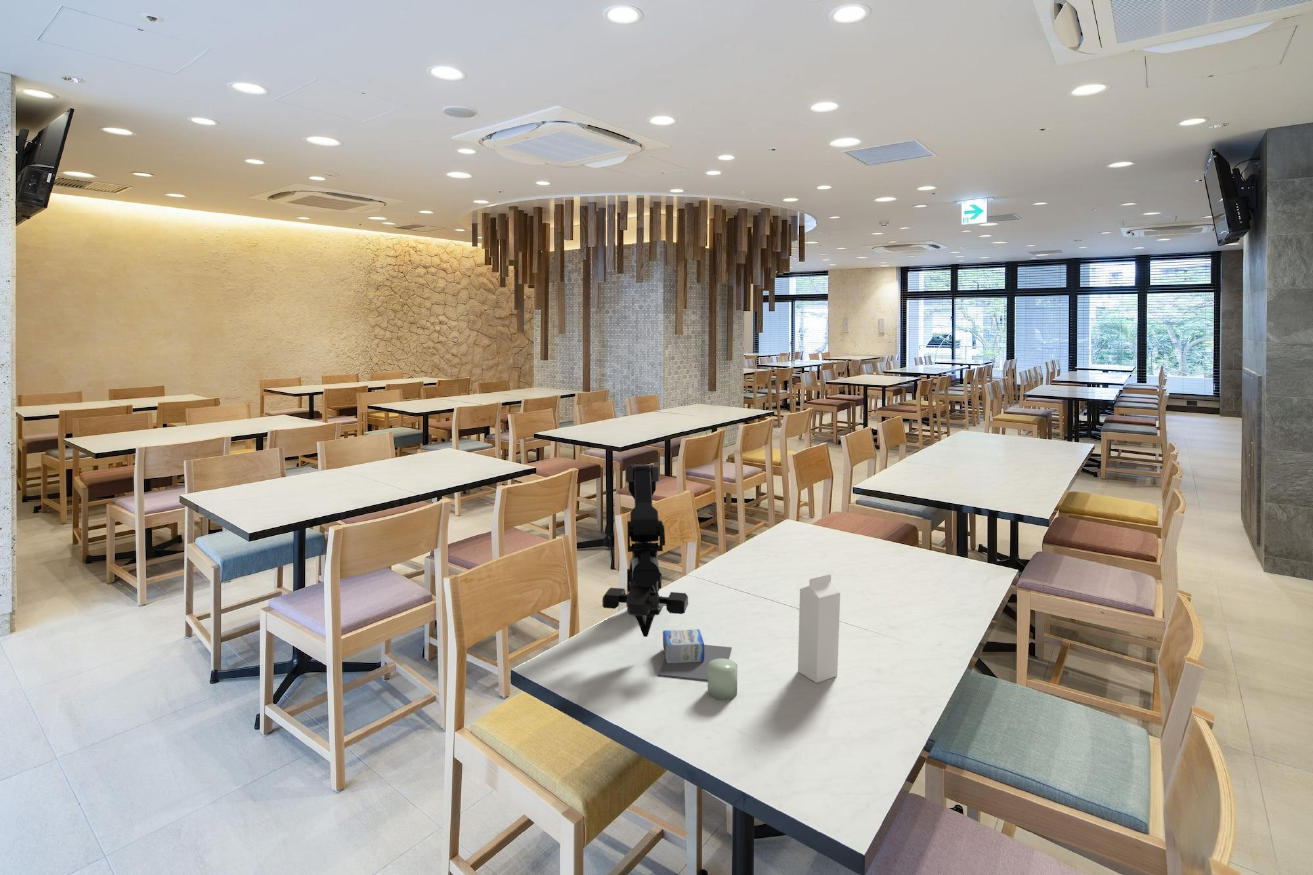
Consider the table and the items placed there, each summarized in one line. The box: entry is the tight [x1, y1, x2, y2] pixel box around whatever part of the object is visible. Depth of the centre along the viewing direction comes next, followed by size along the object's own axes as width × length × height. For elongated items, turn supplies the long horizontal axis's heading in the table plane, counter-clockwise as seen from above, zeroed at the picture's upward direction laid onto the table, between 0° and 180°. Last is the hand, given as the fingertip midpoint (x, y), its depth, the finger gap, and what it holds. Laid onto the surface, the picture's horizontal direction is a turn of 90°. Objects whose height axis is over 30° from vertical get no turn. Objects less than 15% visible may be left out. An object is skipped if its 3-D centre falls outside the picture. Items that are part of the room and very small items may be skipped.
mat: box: [657, 644, 732, 682], centre depth 155 cm, size 14×16×1 cm
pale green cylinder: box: [707, 658, 738, 701], centre depth 141 cm, size 6×6×6 cm
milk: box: [797, 573, 841, 684], centre depth 147 cm, size 6×6×22 cm
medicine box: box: [662, 628, 705, 663], centre depth 157 cm, size 8×4×9 cm
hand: (645, 636), depth 157 cm, fingers closed
